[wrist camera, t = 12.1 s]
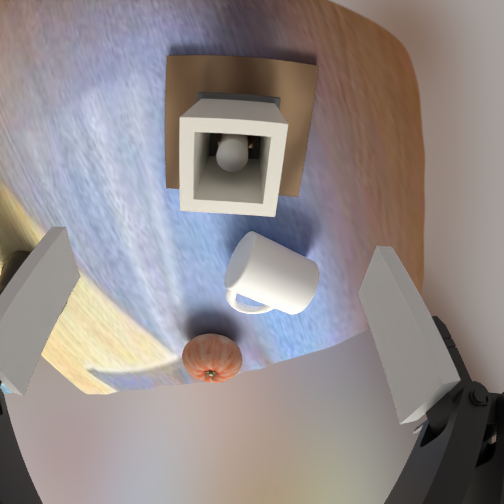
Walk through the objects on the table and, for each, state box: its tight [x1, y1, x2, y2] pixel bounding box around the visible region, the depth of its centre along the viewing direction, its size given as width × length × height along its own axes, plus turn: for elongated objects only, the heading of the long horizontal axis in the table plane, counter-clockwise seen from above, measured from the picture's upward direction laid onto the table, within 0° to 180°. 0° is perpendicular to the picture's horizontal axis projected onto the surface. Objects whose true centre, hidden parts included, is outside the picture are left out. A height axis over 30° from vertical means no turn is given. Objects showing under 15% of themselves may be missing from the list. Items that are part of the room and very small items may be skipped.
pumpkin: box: [182, 333, 242, 383], centre depth 51 cm, size 11×11×8 cm
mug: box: [224, 231, 319, 314], centre depth 41 cm, size 12×10×8 cm
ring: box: [196, 92, 281, 159], centre depth 28 cm, size 8×8×2 cm
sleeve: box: [179, 99, 288, 217], centre depth 24 cm, size 7×7×10 cm
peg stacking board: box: [165, 55, 319, 197], centre depth 27 cm, size 16×16×12 cm
